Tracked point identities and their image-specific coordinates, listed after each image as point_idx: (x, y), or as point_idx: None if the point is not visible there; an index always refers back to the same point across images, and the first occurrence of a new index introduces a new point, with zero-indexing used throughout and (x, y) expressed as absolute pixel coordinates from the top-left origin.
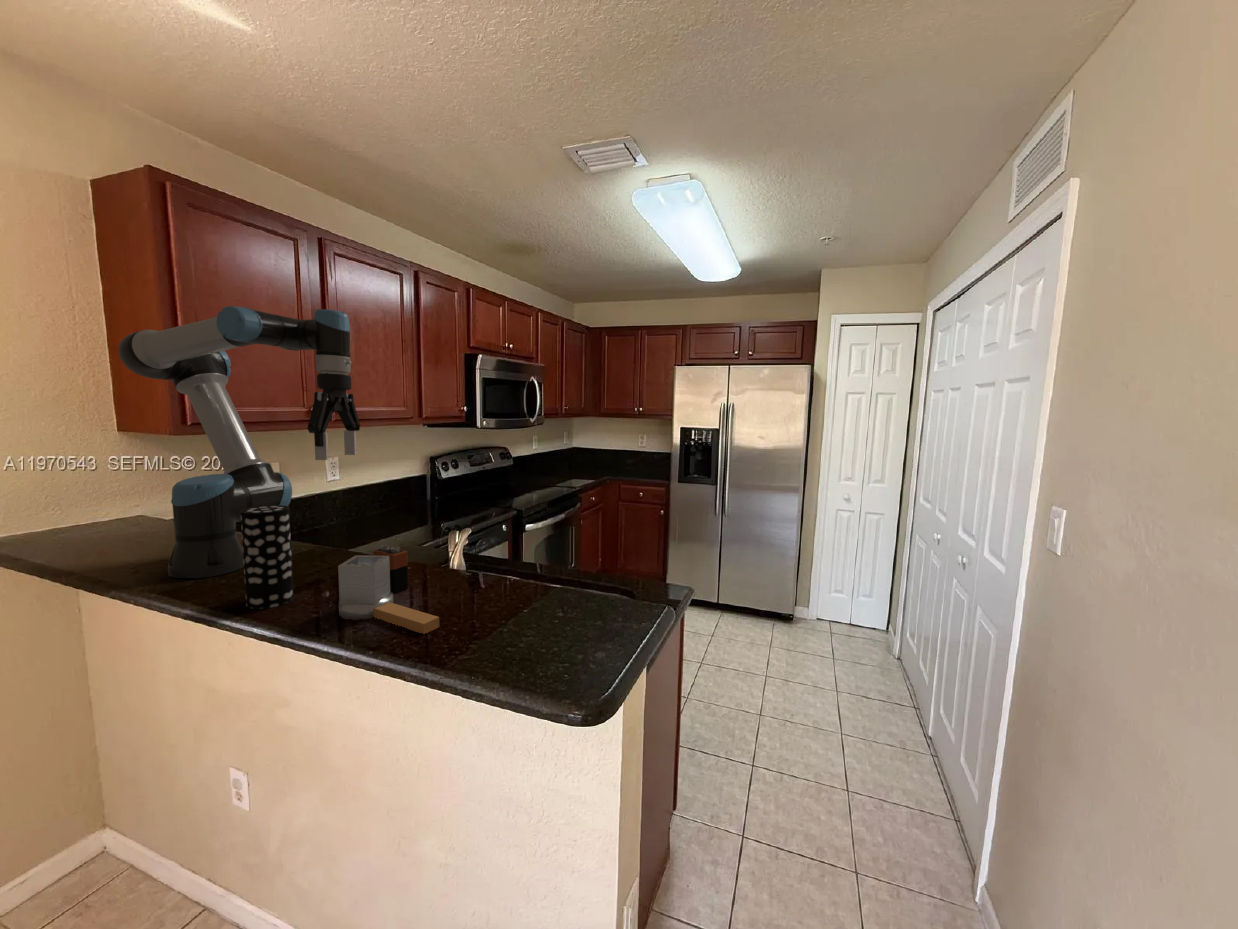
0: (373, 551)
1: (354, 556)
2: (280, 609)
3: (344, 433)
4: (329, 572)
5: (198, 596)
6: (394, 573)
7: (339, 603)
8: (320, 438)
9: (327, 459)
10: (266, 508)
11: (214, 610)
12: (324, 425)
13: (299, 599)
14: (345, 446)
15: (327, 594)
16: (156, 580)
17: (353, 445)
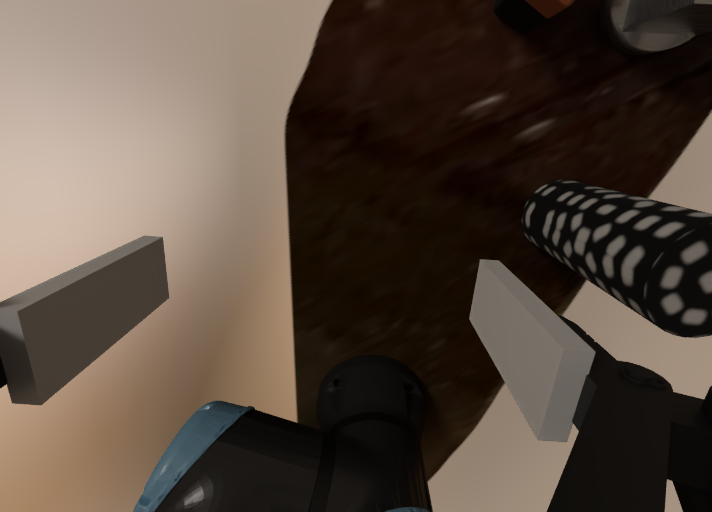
0: (569, 4)
1: (704, 1)
2: (604, 177)
3: (63, 382)
4: (399, 186)
5: None
6: None
7: (687, 39)
8: (605, 350)
9: (490, 261)
10: (697, 285)
11: (582, 280)
12: (661, 418)
13: (558, 168)
14: (137, 317)
15: (540, 126)
16: (422, 434)
17: (122, 266)
